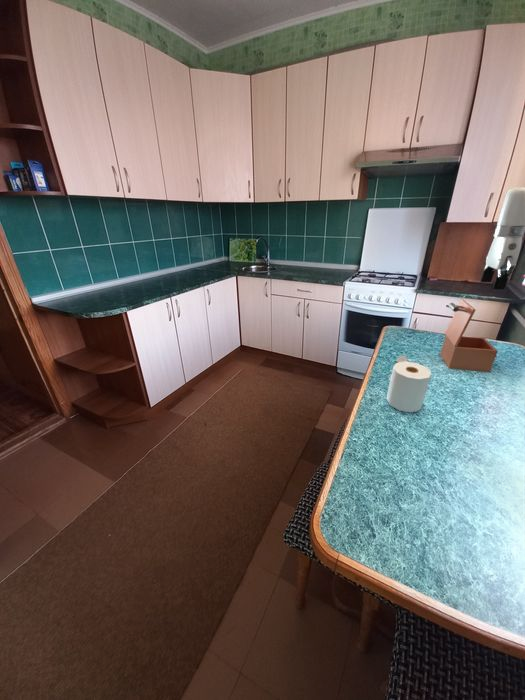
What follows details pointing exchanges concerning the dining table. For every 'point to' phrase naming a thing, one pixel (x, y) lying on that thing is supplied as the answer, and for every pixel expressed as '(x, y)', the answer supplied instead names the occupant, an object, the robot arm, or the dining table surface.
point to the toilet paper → (408, 386)
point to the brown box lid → (459, 321)
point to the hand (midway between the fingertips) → (491, 285)
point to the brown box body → (469, 354)
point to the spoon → (400, 359)
